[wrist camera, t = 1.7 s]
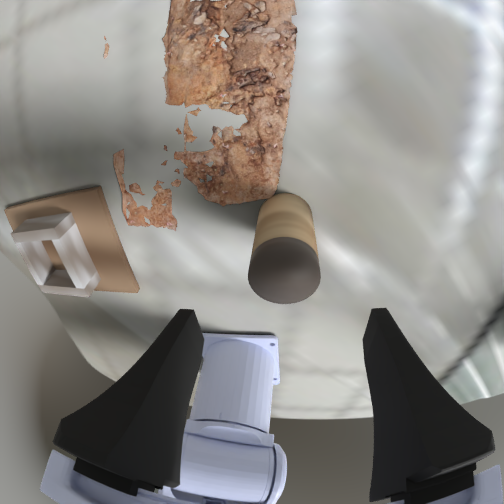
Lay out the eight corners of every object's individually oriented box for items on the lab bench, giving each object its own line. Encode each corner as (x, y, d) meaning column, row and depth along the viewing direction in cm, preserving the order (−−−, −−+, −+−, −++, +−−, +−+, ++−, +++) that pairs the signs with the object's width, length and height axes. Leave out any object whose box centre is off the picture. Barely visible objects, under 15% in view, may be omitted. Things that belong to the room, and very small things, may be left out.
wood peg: (311, 239, 19) (318, 303, 14) (260, 240, 20) (251, 304, 15) (312, 192, 17) (322, 248, 12) (256, 194, 18) (244, 249, 13)
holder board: (139, 288, 24) (127, 312, 22) (44, 282, 26) (31, 300, 24) (100, 186, 18) (78, 205, 16) (7, 207, 20) (-11, 222, 18)
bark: (284, 233, 19) (284, 237, 19) (130, 226, 20) (127, 229, 20) (289, -78, 7) (288, -81, 6) (109, -46, 8) (105, -48, 7)
